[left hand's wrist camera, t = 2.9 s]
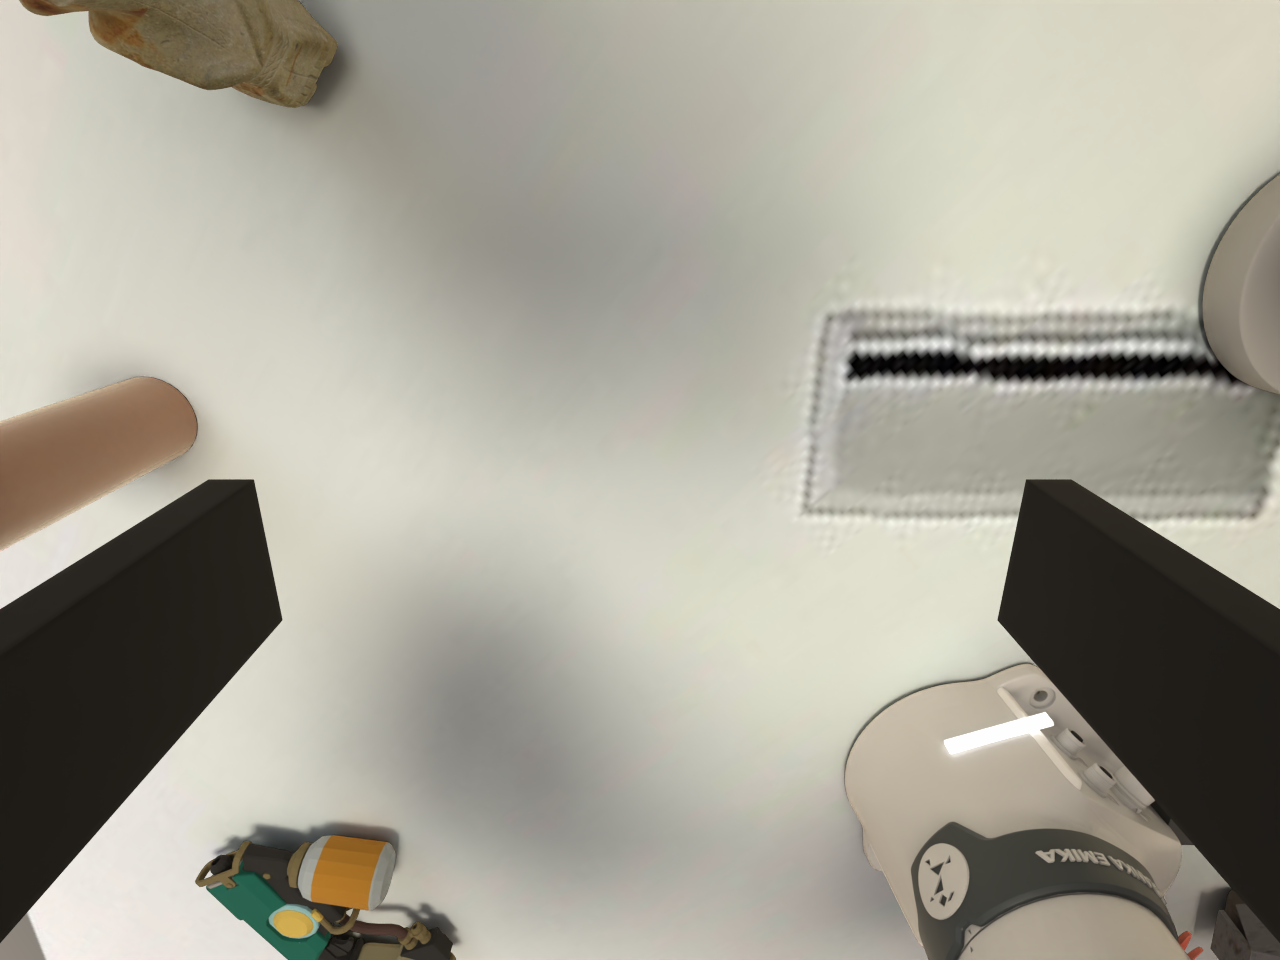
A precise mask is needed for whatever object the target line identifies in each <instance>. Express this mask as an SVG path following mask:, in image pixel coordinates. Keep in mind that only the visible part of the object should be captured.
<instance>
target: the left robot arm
mask: <svg viewBox="0 0 1280 960" xmlns="http://www.w3.org/2000/svg"><path fill="white" fill-rule="evenodd" d="M281 621H282V615H281V611H280V606H279V601H278V596H277V591H276V586H275V581H274V576H273V571H272V566H271V562H270V557H269V552H268V547H267V542H266V537H265V532H264V527H263V522H262V517H261V512H260V508H259V503H258V498H257V493H256V488H255V483H254V480H207V481H206V482H204V483H202V484H201V485H199V486H198V487H196V488H194V489H193V490H191V491H190V492H188V493H186V494H185V495H183V496H182V497H180V498H178V499H177V500H175V501H174V502H172V503H170V504H169V505H167V506H165V507H164V508H162V509H161V510H159V511H157V512H156V513H154V514H153V515H151V516H149V517H148V518H146V519H145V520H143V521H141V522H140V523H138V524H137V525H135V526H133V527H132V528H130V529H129V530H127V531H125V532H124V533H122V534H120V535H119V536H117V537H116V538H114V539H112V540H111V541H109V542H108V543H106V544H104V545H103V546H101V547H100V548H98V549H96V550H95V551H93V552H92V553H90V554H88V555H87V556H85V557H84V558H82V559H80V560H79V561H77V562H76V563H74V564H72V565H71V566H69V567H67V568H66V569H64V570H63V571H61V572H59V573H58V574H56V575H55V576H53V577H51V578H50V579H48V580H47V581H45V582H43V583H42V584H40V585H39V586H37V587H35V588H34V589H32V590H31V591H29V592H27V593H26V594H24V595H22V596H21V597H19V598H18V599H16V600H14V601H13V602H11V603H10V604H8V605H6V606H5V607H3V608H2V609H0V943H1V942H2V940H3V939H4V938H5V937H6V936H7V935H8V934H9V932H10V931H11V930H12V929H13V928H14V927H15V925H16V924H17V923H18V922H19V921H20V920H21V919H22V917H23V916H24V915H25V914H26V913H27V912H28V911H29V910H30V908H31V907H32V906H33V905H34V904H35V903H36V902H37V900H38V899H39V898H40V897H41V896H42V895H43V894H44V892H45V891H46V890H47V889H48V888H49V887H50V886H51V884H52V883H53V882H54V881H55V880H56V879H57V878H58V876H59V875H60V874H61V873H62V872H63V871H64V870H65V868H66V867H67V866H68V865H69V864H70V863H71V862H72V860H73V859H74V858H75V857H76V856H77V855H78V853H79V852H80V851H81V850H82V849H83V848H84V847H85V845H86V844H87V843H88V842H89V841H90V840H91V839H92V837H93V836H94V835H95V834H96V833H97V832H98V831H99V829H100V828H101V827H102V826H103V825H104V824H105V823H106V821H107V820H108V819H109V818H110V817H111V816H112V815H113V813H114V812H115V811H116V810H117V809H118V808H119V807H120V805H121V804H122V803H123V802H124V801H125V800H126V799H127V797H128V796H129V795H130V794H131V793H132V792H133V791H134V789H135V788H136V787H137V786H138V785H139V784H140V783H141V781H142V780H143V779H144V778H145V777H146V776H147V775H148V773H149V772H150V771H151V770H152V769H153V768H154V767H155V765H156V764H157V763H158V762H159V761H160V760H161V759H162V757H163V756H164V755H165V754H166V753H167V752H168V751H169V749H170V748H171V747H172V746H173V745H174V744H175V743H176V741H177V740H178V739H179V738H180V737H181V736H182V735H183V733H184V732H185V731H186V730H187V729H188V728H189V727H190V725H191V724H192V723H193V722H194V721H195V720H196V719H197V717H198V716H199V715H200V714H201V713H202V712H203V711H204V709H205V708H206V707H207V706H208V705H209V704H210V702H211V701H212V700H213V699H214V698H215V697H216V696H217V694H218V693H219V692H220V691H221V690H222V689H223V688H224V686H225V685H226V684H227V683H228V682H229V681H230V680H231V678H232V677H233V676H234V675H235V674H236V673H237V672H238V670H239V669H240V668H241V667H242V666H243V665H244V664H245V662H246V661H247V660H248V659H249V658H250V657H251V656H252V654H253V653H254V652H255V651H256V650H257V649H258V648H259V646H260V645H261V644H262V643H263V642H264V641H265V640H266V638H267V637H268V636H269V635H270V634H271V633H272V632H273V630H274V629H275V628H276V627H277V626H278V625H279V624H280V622H281ZM998 621H999V622H1000V624H1001V625H1002V626H1003V627H1004V628H1005V629H1006V630H1007V632H1008V633H1009V634H1010V635H1011V636H1012V637H1013V638H1014V640H1015V641H1016V642H1017V643H1018V644H1019V645H1020V646H1021V648H1022V649H1023V650H1024V651H1025V652H1026V653H1027V654H1028V656H1029V657H1030V658H1031V659H1032V660H1033V661H1034V662H1035V664H1036V665H1037V666H1038V667H1039V668H1040V669H1041V670H1042V672H1043V673H1044V674H1045V675H1046V676H1047V677H1048V678H1049V680H1050V681H1051V682H1052V683H1053V684H1054V685H1055V686H1056V688H1057V689H1058V690H1059V691H1060V692H1061V693H1062V694H1063V696H1064V697H1065V698H1066V699H1067V700H1068V701H1069V702H1070V704H1071V705H1072V706H1073V707H1074V708H1075V709H1076V711H1077V712H1078V713H1079V714H1080V715H1081V716H1082V717H1083V719H1084V720H1085V721H1086V722H1087V723H1088V724H1089V725H1090V727H1091V728H1092V729H1093V730H1094V731H1095V732H1096V733H1097V735H1098V736H1099V737H1100V738H1101V739H1102V740H1103V741H1104V743H1105V744H1106V745H1107V746H1108V747H1109V748H1110V749H1111V751H1112V752H1113V753H1114V754H1115V755H1116V756H1117V757H1118V759H1119V760H1120V761H1121V762H1122V763H1123V764H1124V765H1125V767H1126V768H1127V769H1128V770H1129V771H1130V772H1131V773H1132V775H1133V776H1134V777H1135V778H1136V779H1137V780H1138V781H1139V783H1140V784H1141V785H1142V786H1143V787H1144V788H1145V789H1146V791H1147V792H1148V793H1149V794H1150V795H1151V796H1152V797H1153V799H1154V800H1155V801H1156V802H1157V803H1158V804H1159V805H1160V807H1161V808H1162V809H1163V810H1164V811H1165V812H1166V813H1167V815H1168V816H1169V817H1170V818H1171V819H1172V820H1173V821H1174V823H1175V824H1176V825H1177V826H1178V827H1179V828H1180V829H1181V831H1182V832H1183V833H1184V834H1185V835H1186V836H1187V837H1188V839H1189V840H1190V841H1191V842H1192V843H1193V844H1194V845H1195V847H1196V848H1197V849H1198V850H1199V851H1200V852H1201V853H1202V855H1203V856H1204V857H1205V858H1206V859H1207V860H1208V862H1209V863H1210V864H1211V865H1212V866H1213V867H1214V868H1215V870H1216V871H1217V872H1218V873H1219V874H1220V875H1221V876H1222V878H1223V879H1224V880H1225V881H1226V882H1227V883H1228V884H1229V886H1230V887H1231V888H1232V889H1233V890H1234V891H1235V892H1236V894H1237V895H1238V896H1239V897H1240V898H1241V899H1242V900H1243V902H1244V903H1245V904H1246V905H1247V906H1248V907H1249V908H1250V910H1251V911H1252V912H1253V913H1254V914H1255V915H1256V916H1257V918H1258V919H1259V920H1260V921H1261V922H1262V923H1263V924H1264V926H1265V927H1266V928H1267V929H1268V930H1269V931H1270V932H1271V934H1272V935H1273V936H1274V937H1275V938H1276V939H1277V940H1278V942H1279V943H1280V609H1278V608H1277V607H1275V606H1274V605H1272V604H1270V603H1269V602H1267V601H1266V600H1264V599H1262V598H1261V597H1259V596H1258V595H1256V594H1254V593H1253V592H1251V591H1249V590H1248V589H1246V588H1245V587H1243V586H1241V585H1240V584H1238V583H1237V582H1235V581H1233V580H1232V579H1230V578H1229V577H1227V576H1225V575H1224V574H1222V573H1221V572H1219V571H1217V570H1216V569H1214V568H1213V567H1211V566H1209V565H1208V564H1206V563H1204V562H1203V561H1201V560H1200V559H1198V558H1196V557H1195V556H1193V555H1192V554H1190V553H1188V552H1187V551H1185V550H1184V549H1182V548H1180V547H1179V546H1177V545H1176V544H1174V543H1172V542H1171V541H1169V540H1168V539H1166V538H1164V537H1163V536H1161V535H1160V534H1158V533H1156V532H1155V531H1153V530H1151V529H1150V528H1148V527H1147V526H1145V525H1143V524H1142V523H1140V522H1139V521H1137V520H1135V519H1134V518H1132V517H1131V516H1129V515H1127V514H1126V513H1124V512H1123V511H1121V510H1119V509H1118V508H1116V507H1115V506H1113V505H1111V504H1110V503H1108V502H1106V501H1105V500H1103V499H1102V498H1100V497H1098V496H1097V495H1095V494H1094V493H1092V492H1090V491H1089V490H1087V489H1086V488H1084V487H1082V486H1081V485H1079V484H1078V483H1076V482H1074V481H1073V480H1026V483H1025V488H1024V493H1023V498H1022V503H1021V508H1020V512H1019V517H1018V522H1017V527H1016V532H1015V537H1014V542H1013V547H1012V552H1011V557H1010V561H1009V566H1008V571H1007V576H1006V581H1005V586H1004V591H1003V596H1002V601H1001V606H1000V611H999V615H998Z"/></svg>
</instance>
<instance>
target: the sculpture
mask: <svg viewBox="0 0 1280 960" xmlns="http://www.w3.org/2000/svg"><path fill="white" fill-rule="evenodd" d="M20 2H21V3H22V5H23V6H24V7H25V8H26V9H27V10H28V11H30V12H32V13H34V14H38V15H43V16H50V15H57V14H64V13H70V12H79V11H89V26H90V31H91V33H92V35H93V37H94V39H95V40H96V41H97V42H98V43H99V44H100V45H102V46H104V47H106V48H107V49H109V50H111V51H114V52H116V53H118V54H120V55H122V56H124V57H126V58H129V59H131V60H133V61H135V62H137V63H138V64H140V65H142V66H144V67H147V68H150V69H153V70H156V71H159V72H162V73H164V74H167V75H169V76H172V77H174V78H177V79H180V80H182V81H184V82H187V83H189V84H192V85H194V86H197V87H199V88H202V89H206V90H215V89H223V88H228V87H233V88H235V89H236V90H238V91H240V92H243V93H245V94H247V95H249V96H251V97H254V98H257V99H260V100H263V101H266V102H269V103H273V104H277V105H281V106H286V107H294V108H295V107H299V106H300V105H305V104H307V103H308V102H309V100H310V99H311V98H312V96H313V95H314V93H315V91H316V89H317V84H316V82H317V80H318V78H319V76H320V74H321V72H322V70H323V68H324V67H326V66H329V65H330V64H331V62H332V60H333V57H334V55H335V52H336V50H337V47H338V44H337V42H336V40H335V39H334V38H333V37H332V36H331V35H330V34H329V33H328V32H327V31H326V30H324V29H323V28H322V27H321V26H320V25H319V24H318V23H317V22H316V21H315V20H314V19H313V18H312V16H311V15H310V14H309V13H308V11H307V10H306V9H305V8H304V7H303V6H302V5H301V4H300V3H299V1H298V0H20Z"/></svg>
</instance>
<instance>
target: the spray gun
mask: <svg viewBox="0 0 1280 960" xmlns="http://www.w3.org/2000/svg"><path fill="white" fill-rule="evenodd" d="M395 858H396V855H395V851H394V849H393V847H392V845H391V844H390V843H388V842H383V841H375V840H367V839H359V838H352V837H344V836H336V835H330V836H323V837H321V838H320V839H318V840H317V841H316V842H314V843H313V844H312V843H308V842H305V843H303V844H302V845H301V846H300V847H299V849H298V850H297V851H296V852H295V853H291V852H288V851H285V850H280V849H275V848H270V847H265V846H260V845H256V844H252V842H250V841H244V842H243V843H242V844H241V846H240V848H239V849H238V850H237V851H234V852H231V853H229V854H226V855H220V856H218V857H216V858H215V859H213V860H212V861H210V862H209V863H207V864H206V865H205V866H204V868H203V869H202V870H201V872H200V873H199V875H198V877H197V879H196V881H195V882H196V884H197V885H198V886H199V887H203V886H206V885H207V886H206V889H207V890H208V891H209V892H210V893H211V894H212V895H213V896H214V897H215V898H216V899H217V900H218V901H219V902H220V903H222V904H223V905H224V906H225V907H226V908H227V909H228V910H229V911H230V912H231V913H232V914H233V915H234V916H235V917H236V918H237V919H239V920H244V921H245V922H246V923H247V924H249V925H250V926H251V927H252V928H253V929H254V930H255V931H256V932H257V933H259V934H260V935H261V936H262V937H263V938H264V939H265V940H266V941H268V942H269V943H270V944H271V945H272V946H273V947H274V948H275V949H276V950H278V951H279V952H280V953H281V954H282V955H283V956H284V957H285V958H287V959H288V960H456V958H455V956H454V955H453V953H451V948H452V942H451V941H450V940H449V939H448V938H447V937H446V935H445V934H444V933H443V932H442V931H441V930H440V929H439V928H438V927H436V928H433V929H430V930H428V931H427V928H426V927H425V925H424V924H422V923H420V922H416V923H415V924H413V926H412V928H411V930H410V929H409V928H408V927H406V928H403V927H401V926H400V925H396V924H374V923H366V922H361V921H357V920H356V919H357V917H358V914H359V911H360V909H363V910H374V909H375V908H376V907H377V906H378V905H379V904H380V903H381V902H382V901H383V900H384V898H385V896H386V894H387V892H388V889H389V886H390V882H391V878H392V875H393V870H394V865H395ZM209 871H211V873H212V874H213V875H212V876H211V877H209V878H206V879H204V878H205V876H206V875H207V873H208V872H209ZM352 908H354V909H353V912H352V914H351V916H350V917H349V916H348V915H347V914H346V911H348V910H350V909H352ZM334 922H335V923H339V924H341V925H342V926H341V927H336V926H334V925H333V924H332V923H334ZM348 930H351V931H354V932H358V933H362V934H371V935H393V936H396V937H398V941H399V942H400V943H401V945H400V944H383V943H366V944H364V945H363V943H364V941H363V939H362V938H361V939H358V940H357V942H356V944H355V947H354V949H352V947H353V944H354V939H353V937H349V939H347V940H340V939H338V938H335V937H332V939H330V936H331V934H335V935H339V934H343V933H345V932H347V931H348Z"/></svg>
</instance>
